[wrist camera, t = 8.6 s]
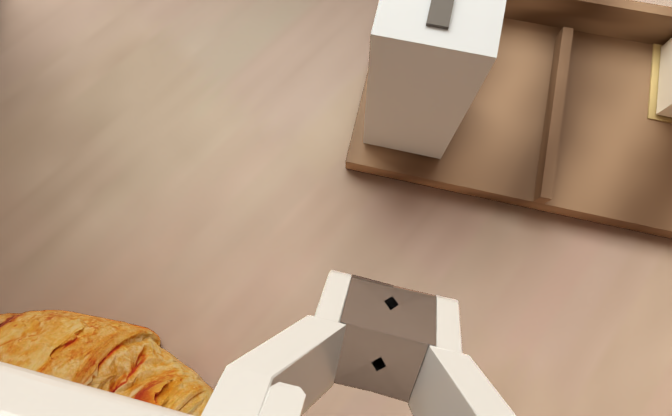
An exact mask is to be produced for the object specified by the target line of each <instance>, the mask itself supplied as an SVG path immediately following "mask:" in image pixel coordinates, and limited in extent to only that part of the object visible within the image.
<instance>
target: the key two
mask: <svg viewBox="0 0 672 416" xmlns="http://www.w3.org/2000/svg"><path fill="white" fill-rule="evenodd" d="M656 114H657V115H662V116H667V117H672V38H671V39H670V40H668V41H667V42H666V43H665V44H664V45H663V46H662V47H661V54H660V68H659V81H658V95H657V109H656Z"/></svg>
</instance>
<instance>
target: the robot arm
mask: <svg viewBox="0 0 672 416" xmlns="http://www.w3.org/2000/svg"><path fill="white" fill-rule="evenodd" d="M351 276H352V278H351ZM334 383H337V384H341V385H345V386H349V387H354V388H358V389H362V390H367V391H371V392H374V393H378V394H381V395H384V396H388V397H391V398H395V399H398V400H402V401H405V402H408V405H409V408H410V410H411V412H412V414H413V416H516V415H515V413H514V412H513V411H512V409H511V408H510V407H509V406H508V404H507V403H506V402H505V400H504V399H503V398H502V397H501V395H500V394H499V393H498V391H497V390H496V389H495V388H494V386H493V385H492V384H491V382H490V381H489V380H488V379H487V377H486V376H485V375H484V373H483V372H482V371H481V370H480V368H479V367H478V366H477V364H476V363H475V362H474V361H473V359H472V358H471V357H470V355H466V354H463V350H462V336H461V323H460V309H459V302H458V300H457V299H453V298H448V297H444V296H439V295H432V294H428V293H423V292H419V291H415V290H411V289H406V288H402V287H398V286H393V285H390V284H386V283H383V282H379V281H375V280H371V279H367V278H364V277H360V276H356V275H351V274H347V273H343V272H339V271H335V270H332V269H331V271H330V272H329V274H328V277H327V280H326V283H325V286H324V289H323V292H322V295H321V298H320V301H319V304H318V307H317V310H316V313H315V316H311V315H307V316H306V317H304V318H303V319H301V320H299V321H298V322H296V323H294V324H293V325H291V326H290V327H288V328H286V329H285V330H283V331H282V332H280V333H278V334H277V335H275V336H274V337H272V338H270V339H269V340H267V341H265V342H264V343H262V344H261V345H259V346H257V347H256V348H254V349H253V350H251V351H249V352H248V353H246V354H245V355H243V356H241V357H240V358H238V359H236V360H235V361H233V362H232V363H230V364H228V365H227V366H226V368H225V370H224V372H223V374H222V376H221V378H220V379H219V381H218V383H217V385H216V387H215V389H214V391H213V393H212V395H211V397H210V399H209V401H208V403H207V405H206V407H205V409H204V411H203V412H202V414H201V416H302V415H303V414H304V413H305V412H306V411H307V410H308V409H309V408H310V407H311V406H312V405H313V404H314V403H315V402H316V401H317V400H318V399H319V398H320V397H321V396H322V395H323V394H324V393H326V392H327V391H328V390H329V389H330V388H331V387H332V386H333V384H334ZM0 416H194V415H191V414H187V413H183V412H180V411H176V410H173V409H169V408H166V407H162V406H158V405H155V404H151V403H148V402H144V401H140V400H137V399H133V398H130V397H126V396H123V395H119V394H115V393H112V392H108V391H105V390H101V389H97V388H94V387H90V386H87V385H83V384H80V383H76V382H72V381H69V380H65V379H62V378H58V377H54V376H51V375H47V374H44V373H40V372H36V371H33V370H29V369H26V368H22V367H19V366H15V365H11V364H8V363H4V362H1V361H0Z"/></svg>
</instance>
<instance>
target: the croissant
mask: <svg viewBox="0 0 672 416" xmlns="http://www.w3.org/2000/svg"><path fill="white" fill-rule="evenodd" d="M0 361H1V362H4V363H8V364H11V365H15V366H19V367H22V368H26V369H29V370H33V371H36V372H40V373H44V374H47V375H51V376H54V377H58V378H62V379H65V380H69V381H72V382H76V383H80V384H83V385H87V386H90V387H94V388H97V389H101V390H105V391H108V392H112V393H115V394H119V395H123V396H126V397H130V398H133V399H137V400H140V401H144V402H148V403H151V404H155V405H158V406H162V407H166V408H169V409H173V410H176V411H180V412H183V413H187V414H191V415H194V416H201V414H202V412H203V411H204V409H205V407H206V405H207V403H208V401H209V399H210V397H211V395H212V393H213V389H212V388H211V387H210V386H209V385H207V384H206V383H205V382H204V381H203V380H202V378H201V377H200V376H199V375H198V374H197V373H196V372H195V371H194V370H193V369H191V368H189V367H187V366H186V365H184V364H183V363H182V362H180V361H179V360H178V359H177V358H176V357H174V356H173V355H172V354H170V353H169V352H167V351H166V350H164V349H163V348H161V347H160V338H159V336H158V335H157V334H155V332H154V331H152V330H150V329H148V328H145V327H141V326H138V325H133V324H128V323H126V322H121V321H115V320H111V319H106V318H101V317H96V316H90V315H85V314H79V313H75V312H69V311H62V310H43V311H28V312H24V313H20V314H16V313H7V314H0Z"/></svg>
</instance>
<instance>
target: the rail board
mask: <svg viewBox="0 0 672 416" xmlns="http://www.w3.org/2000/svg"><path fill="white" fill-rule="evenodd" d="M671 38H672V7H667V6H661V5H655V4H649V3H644V2H638V1H632V0H507V1H506V6H505V12H504V18H503V24H502V30H501V36H500V41H499V47H498V53H497V58H496V60H495V62H494V63H493V65H492V67H491V69H490V71H489V73H488V74H487V76H486V78H485V80H484V82H483V83H482V85H481V87H480V89H479V91H478V92H477V94H476V96H475V98H474V100H473V101H472V103H471V105H470V107H469V109H468V110H467V112H466V114H465V116H464V118H463V119H462V121H461V123H460V125H459V127H458V128H457V130H456V132H455V134H454V136H453V137H452V139H451V141H450V143H449V145H448V146H447V148H446V150H445V152H444V154H443V155H442V157H441V159H438V158H433V157H428V156H423V155H419V154H414V153H409V152H404V151H400V150H395V149H390V148H385V147H381V146H376V145H371V144H366V143H363V137H364V123H365V109H366V94H367V80H368V73H367V77H366V81H365V85H364V89H363V93H362V97H361V101H360V105H359V109H358V113H357V117H356V121H355V125H354V129H353V133H352V137H351V141H350V145H349V149H348V153H347V157H346V168H347V169H351V170H356V171H361V172H365V173H370V174H375V175H379V176H384V177H388V178H393V179H398V180H402V181H407V182H412V183H416V184H421V185H426V186H430V187H435V188H439V189H444V190H449V191H453V192H458V193H463V194H467V195H472V196H476V197H481V198H486V199H490V200H495V201H500V202H504V203H509V204H513V205H518V206H523V207H527V208H532V209H537V210H541V211H546V212H550V213H555V214H560V215H564V216H569V217H574V218H578V219H583V220H588V221H592V222H597V223H601V224H606V225H611V226H615V227H620V228H625V229H629V230H634V231H638V232H643V233H648V234H652V235H657V236H662V237H666V238H671V239H672V117H667V116H662V115H657V114H656V109H657V95H658V81H659V68H660V54H661V47H662V46H663V45H664V44H665V43H666V42H667V41H668V40H670V39H671Z"/></svg>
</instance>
